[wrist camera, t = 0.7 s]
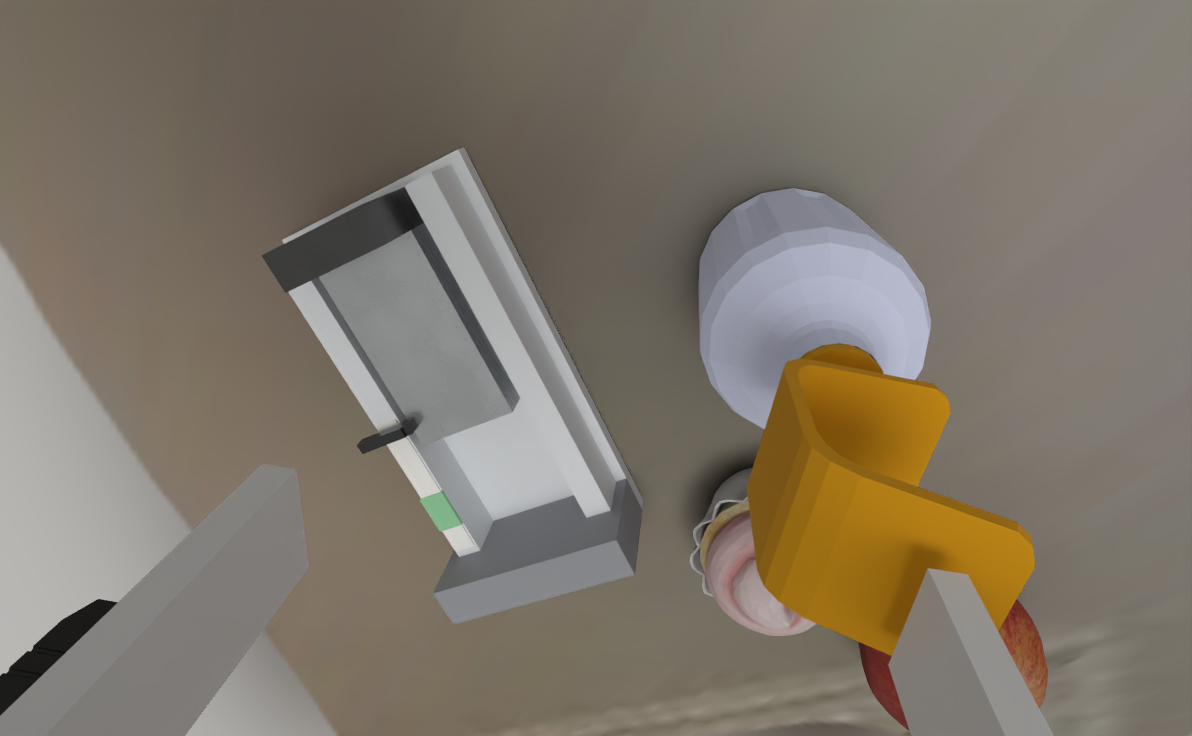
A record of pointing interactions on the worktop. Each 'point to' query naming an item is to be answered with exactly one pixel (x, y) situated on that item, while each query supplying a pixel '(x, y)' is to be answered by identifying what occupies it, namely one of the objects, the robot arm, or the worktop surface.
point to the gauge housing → (499, 423)
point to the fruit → (1014, 634)
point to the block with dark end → (403, 316)
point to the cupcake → (738, 564)
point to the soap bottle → (840, 419)
